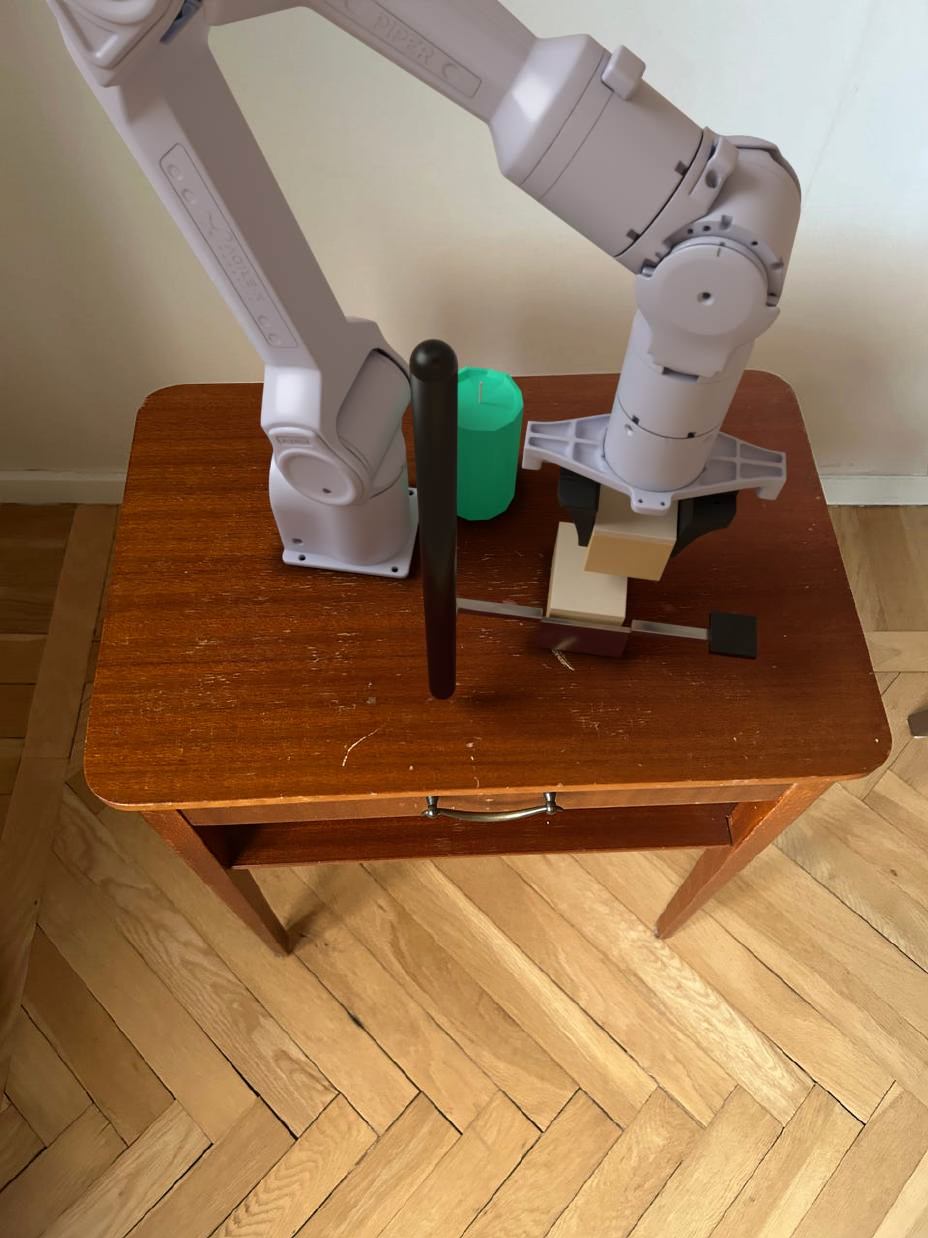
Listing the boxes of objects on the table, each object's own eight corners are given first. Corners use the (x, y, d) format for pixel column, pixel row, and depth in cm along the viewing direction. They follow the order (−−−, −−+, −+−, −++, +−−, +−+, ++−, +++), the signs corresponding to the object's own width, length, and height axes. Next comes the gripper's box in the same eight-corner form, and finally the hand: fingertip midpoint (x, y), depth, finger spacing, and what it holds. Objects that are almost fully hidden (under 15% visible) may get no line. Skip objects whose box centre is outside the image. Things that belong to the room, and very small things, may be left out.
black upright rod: (427, 708, 60) (404, 362, 31) (443, 614, 64) (435, 222, 34) (734, 749, 59) (1008, 430, 30) (733, 651, 62) (979, 278, 33)
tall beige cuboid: (543, 640, 63) (550, 607, 58) (552, 558, 66) (559, 521, 62) (613, 649, 63) (625, 617, 58) (618, 566, 66) (630, 529, 61)
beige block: (583, 571, 57) (593, 529, 53) (588, 522, 59) (598, 477, 55) (659, 581, 57) (676, 540, 53) (662, 531, 59) (678, 487, 55)
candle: (507, 526, 67) (517, 423, 57) (431, 513, 68) (427, 408, 57) (520, 465, 70) (532, 356, 59) (447, 453, 71) (446, 342, 60)
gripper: (523, 438, 44) (508, 576, 56) (818, 475, 43) (738, 607, 55) (538, 335, 47) (521, 487, 59) (813, 367, 46) (738, 515, 58)
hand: (626, 539), depth 57 cm, fingers closed on beige block, 5 cm apart
